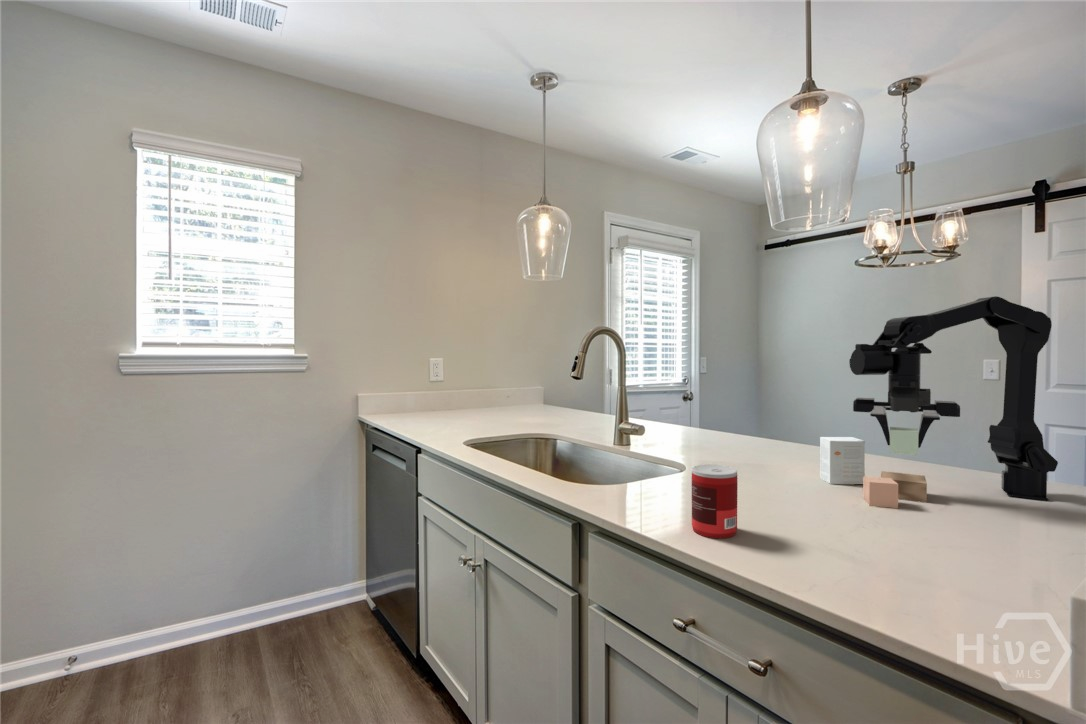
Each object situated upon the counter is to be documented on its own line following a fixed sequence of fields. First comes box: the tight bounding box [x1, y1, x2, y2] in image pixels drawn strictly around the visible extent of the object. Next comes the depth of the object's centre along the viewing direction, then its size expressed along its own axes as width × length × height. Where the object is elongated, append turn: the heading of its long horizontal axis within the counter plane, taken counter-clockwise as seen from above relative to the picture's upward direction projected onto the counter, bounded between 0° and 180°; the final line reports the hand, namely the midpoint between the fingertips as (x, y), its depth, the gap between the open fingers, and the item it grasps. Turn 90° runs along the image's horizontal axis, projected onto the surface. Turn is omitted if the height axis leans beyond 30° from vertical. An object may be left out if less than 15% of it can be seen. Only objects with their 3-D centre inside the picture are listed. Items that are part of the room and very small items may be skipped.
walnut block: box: [880, 470, 928, 503], centre depth 112 cm, size 8×8×4 cm
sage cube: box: [889, 426, 919, 456], centre depth 112 cm, size 5×5×5 cm
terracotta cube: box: [862, 476, 899, 509], centre depth 106 cm, size 5×5×5 cm
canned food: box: [691, 464, 739, 539], centre depth 91 cm, size 8×8×11 cm
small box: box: [819, 436, 866, 485], centre depth 124 cm, size 8×6×10 cm
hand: (903, 446), depth 112 cm, fingers closed on sage cube, 5 cm apart
